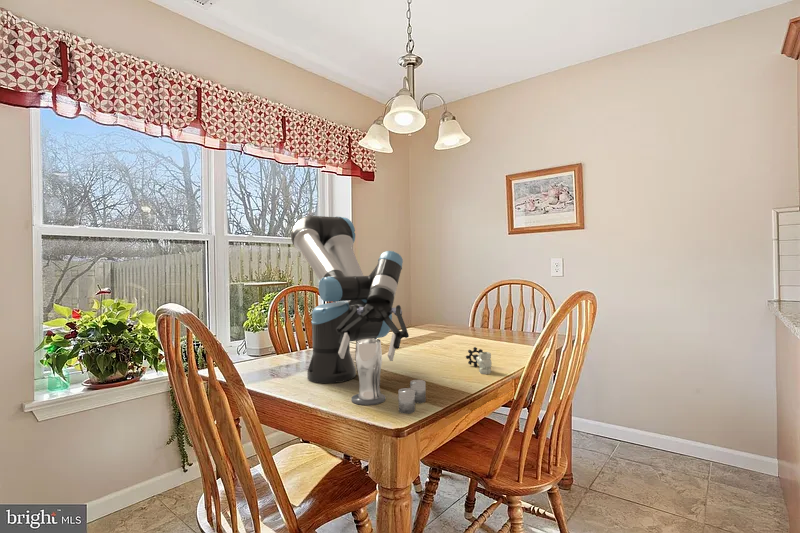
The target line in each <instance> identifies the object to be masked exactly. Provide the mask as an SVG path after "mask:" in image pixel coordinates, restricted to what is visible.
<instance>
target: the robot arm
mask: <svg viewBox="0 0 800 533" xmlns="http://www.w3.org/2000/svg"><path fill="white" fill-rule="evenodd" d="M355 231H356V229H355V226H354V224H353V222H352V221H351V220H350V219H349V218H348V217H342V216H322V215H307V216H304V217H302V218H300V219H299V220H297V221H296V223H295V224H294V225H293V227H292V230H291V232H290V238H291V242H292V245H293V246H294V248H295V249H296V251H298V252H299V253H302V255H303V257H304V258H305V259H306V262H307V263H308V265H309V266H310V268H311V270H313V271H312V272H314V274H315V276H316V277H317V279H318V280H319V282H318V294H319V298H320V299H321V301H323V302H326V303H323V304H320V305H317V306H315V307H314V308H313V310H312V315H311V327H312V328H311V331H312V332H311V335H312V336H311V337H312V338H311V339H312V354H311V357H310V358H311V359H310V362H309V365H308V368H307V375H306V376H307V377H306V378H307V380H308V381H310V382H313V383H321V384H329V383H331V384H333V383H335V384H336V383H341V382H342V383H343V382H346V381H350V380H353V379H354V378H355V377H356V373H357V371H356V370H357V369H356V365H355V363H354V361H353V357H352V355H351V351H350V350H351V349H350V342H356V341H357V340H360V339H367V338H374V339H379V338H385V337H386V336H387V335H388V334H389V332H390V331H391V332H392V334H391V338H390V343H389V348H388V352H387V357H388V360H389V362H394V357H395V353H396V350H398V349H399V348H400V345H401V341H402V339H403V338H405V339H408V338H409V336H410V335H409V332H408V329H407V327H406V324H405V321H404V319H403V316H402V315H403V311H402V307H401V305H400V304H398V305H396V306H395V307H393V305H394V303H395V302H394V301H395V296H396V293H397V288H398V284H399V280H400V277H401V273H402V270H403V262H404V260H403V258H402V256H401V254H399V253H398V252H396V251H394V250H386V251H383V252H382V253H381V254H380V256H379V258H378V260H377V261H378V262H377V265H376V266H375V267H374V269H373V270H372V271H371V273H370V274H369V275H364V273H363V271H362V269H361V267H360V264H359V261H358V259H357V257H356V255H355V252H354V250H353V246H354V243H355V240H356V233H355ZM393 315H394V316H396V318H397V320H398V323H399V325H400V328H401V330H399V328H398V327H397V325H395V323H394V322H393Z"/></svg>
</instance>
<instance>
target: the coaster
mask: <svg viewBox="0 0 800 533" xmlns="http://www.w3.org/2000/svg"><path fill="white" fill-rule="evenodd" d="M358 394H359V393H356V394H353V395H352V396H351V399H350V400H351V403H353V404H354V405H355V404H356V405H359V406H374V405H379V404H382V403H384V402H385V401H386V395H385V394H384V393H381V398H379V399H377V400H373V401H364V400H360V399H359V398H358Z"/></svg>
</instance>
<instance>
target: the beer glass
mask: <svg viewBox="0 0 800 533" xmlns="http://www.w3.org/2000/svg"><path fill="white" fill-rule="evenodd" d="M381 342H382V341H381V339H379V338H377V339H374V338H367V339H360V340H357V341H355V352H354V353H355V358H354V359H355V368H356V370H357V371H356V373H357V375H358V382H359V384H358V385H359V386H358V389H359V390H358V393H357V394H358V398H359V399H360V400H364V401H373V400H377V399H379V398H381V394H382V392H381V387H380V386H381V385H380V386H379V379H380V380H381V371H382V364H383V362H382V361H383V354H382V344H381Z"/></svg>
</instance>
